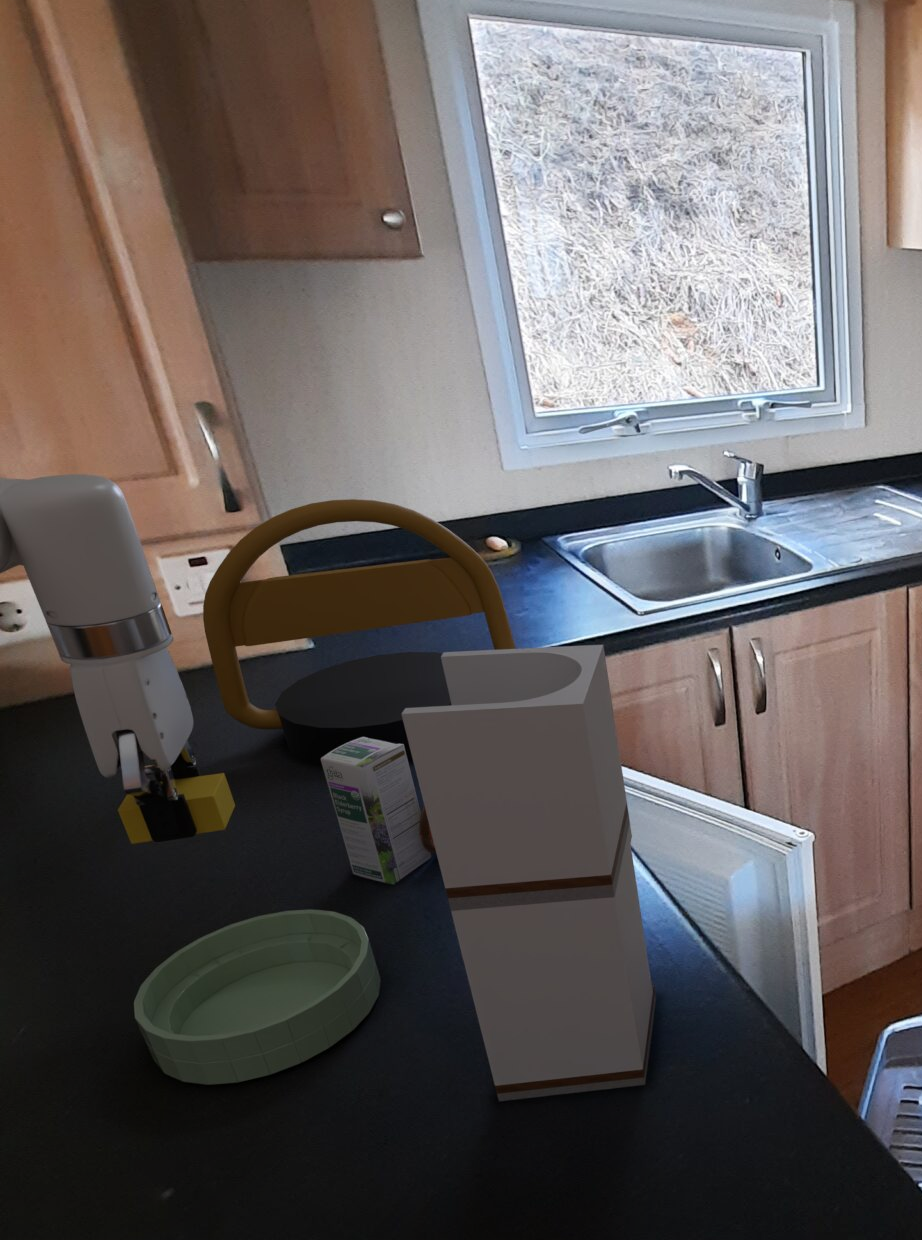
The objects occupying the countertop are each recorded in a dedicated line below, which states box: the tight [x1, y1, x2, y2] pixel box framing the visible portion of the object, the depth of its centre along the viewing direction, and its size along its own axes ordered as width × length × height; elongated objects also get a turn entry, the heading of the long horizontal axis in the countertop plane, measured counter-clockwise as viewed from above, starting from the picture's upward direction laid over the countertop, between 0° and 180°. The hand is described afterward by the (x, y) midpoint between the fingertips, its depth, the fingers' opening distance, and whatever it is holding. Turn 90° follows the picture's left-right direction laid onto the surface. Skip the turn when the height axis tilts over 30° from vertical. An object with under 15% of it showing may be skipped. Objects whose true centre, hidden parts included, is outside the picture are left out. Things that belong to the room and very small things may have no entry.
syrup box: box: [321, 737, 432, 885], centre depth 111 cm, size 6×6×14 cm
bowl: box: [133, 908, 382, 1086], centre depth 92 cm, size 17×17×6 cm
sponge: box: [117, 772, 236, 845], centre depth 93 cm, size 7×4×4 cm, turn 112°
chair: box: [202, 498, 517, 768], centre depth 136 cm, size 25×35×32 cm
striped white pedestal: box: [402, 644, 657, 1102], centre depth 82 cm, size 11×11×35 cm
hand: (182, 821), depth 93 cm, fingers closed on sponge, 4 cm apart
